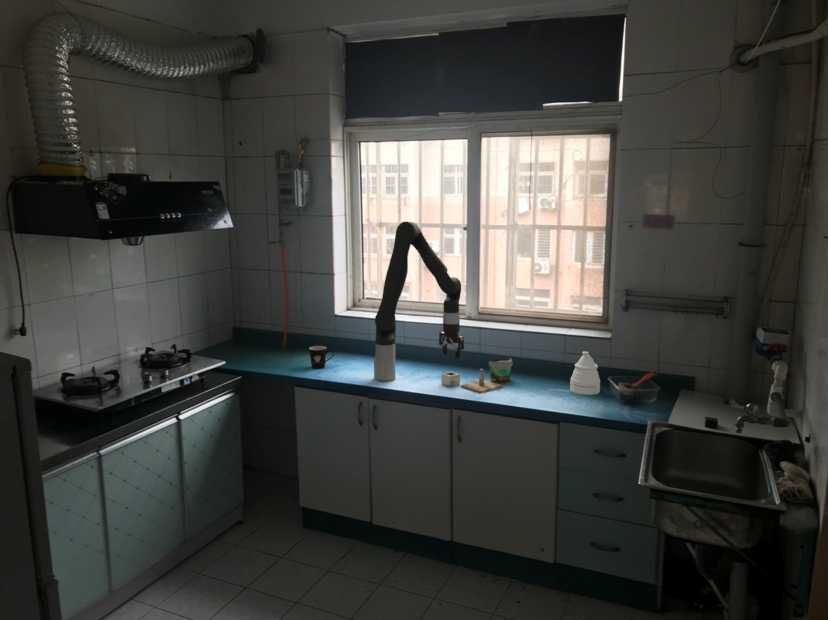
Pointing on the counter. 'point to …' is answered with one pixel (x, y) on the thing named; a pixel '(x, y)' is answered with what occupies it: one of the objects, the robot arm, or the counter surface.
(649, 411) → the counter surface
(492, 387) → the block
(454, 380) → the grey square sleeve
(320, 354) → the coffee mug
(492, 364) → the food container
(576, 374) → the honey pot
